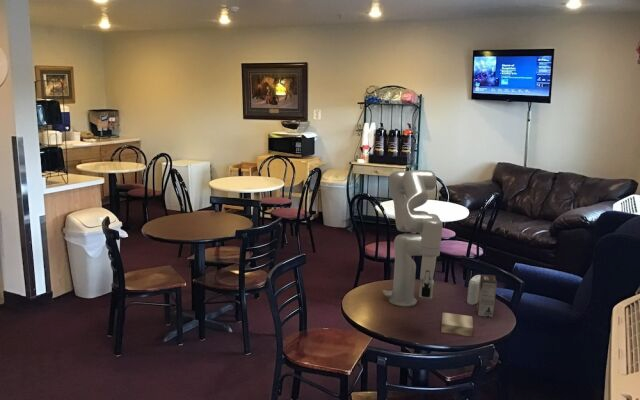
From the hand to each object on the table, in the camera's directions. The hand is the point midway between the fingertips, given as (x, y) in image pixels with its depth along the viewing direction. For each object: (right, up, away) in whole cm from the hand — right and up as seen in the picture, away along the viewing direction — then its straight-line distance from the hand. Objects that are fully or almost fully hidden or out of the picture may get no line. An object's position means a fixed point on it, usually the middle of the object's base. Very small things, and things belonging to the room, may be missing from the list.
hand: (426, 293), depth 220 cm
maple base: (+14, -16, +7) cm, 22 cm away
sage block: (0, -1, 0) cm, 1 cm away
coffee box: (+30, -12, +24) cm, 41 cm away
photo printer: (+29, -10, +36) cm, 48 cm away
